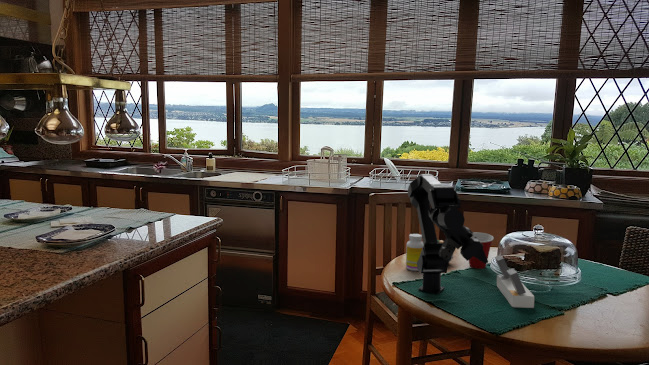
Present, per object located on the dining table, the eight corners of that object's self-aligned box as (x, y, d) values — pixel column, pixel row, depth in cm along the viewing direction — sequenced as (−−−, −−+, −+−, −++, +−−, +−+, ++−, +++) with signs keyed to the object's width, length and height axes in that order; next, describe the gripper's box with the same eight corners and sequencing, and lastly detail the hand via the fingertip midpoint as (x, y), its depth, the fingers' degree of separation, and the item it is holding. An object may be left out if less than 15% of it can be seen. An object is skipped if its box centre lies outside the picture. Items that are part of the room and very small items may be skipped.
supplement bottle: (424, 272, 163) (425, 237, 161) (405, 271, 164) (406, 237, 163) (423, 266, 169) (424, 233, 168) (406, 265, 171) (406, 232, 169)
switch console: (512, 307, 130) (512, 294, 130) (496, 285, 148) (497, 274, 148) (533, 307, 130) (534, 295, 129) (515, 286, 147) (515, 275, 147)
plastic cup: (461, 269, 166) (461, 237, 164) (463, 261, 176) (464, 231, 174) (492, 272, 162) (493, 240, 160) (493, 264, 171) (494, 233, 170)
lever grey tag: (506, 279, 144) (497, 260, 143) (502, 275, 148) (494, 257, 147) (512, 276, 143) (503, 258, 143) (508, 272, 147) (500, 254, 147)
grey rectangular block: (519, 295, 130) (510, 275, 129) (515, 290, 134) (506, 270, 133) (526, 292, 129) (516, 272, 129) (521, 287, 133) (512, 268, 133)
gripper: (426, 235, 142) (460, 270, 142) (433, 252, 124) (472, 292, 124) (452, 212, 140) (487, 247, 140) (463, 225, 122) (503, 265, 122)
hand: (486, 262), depth 132 cm, fingers closed
